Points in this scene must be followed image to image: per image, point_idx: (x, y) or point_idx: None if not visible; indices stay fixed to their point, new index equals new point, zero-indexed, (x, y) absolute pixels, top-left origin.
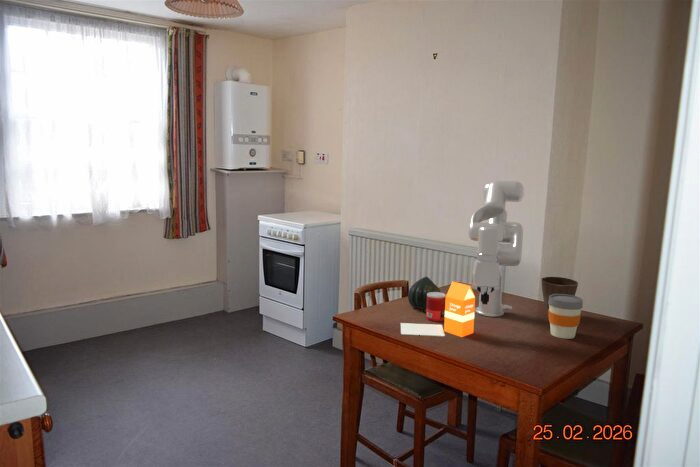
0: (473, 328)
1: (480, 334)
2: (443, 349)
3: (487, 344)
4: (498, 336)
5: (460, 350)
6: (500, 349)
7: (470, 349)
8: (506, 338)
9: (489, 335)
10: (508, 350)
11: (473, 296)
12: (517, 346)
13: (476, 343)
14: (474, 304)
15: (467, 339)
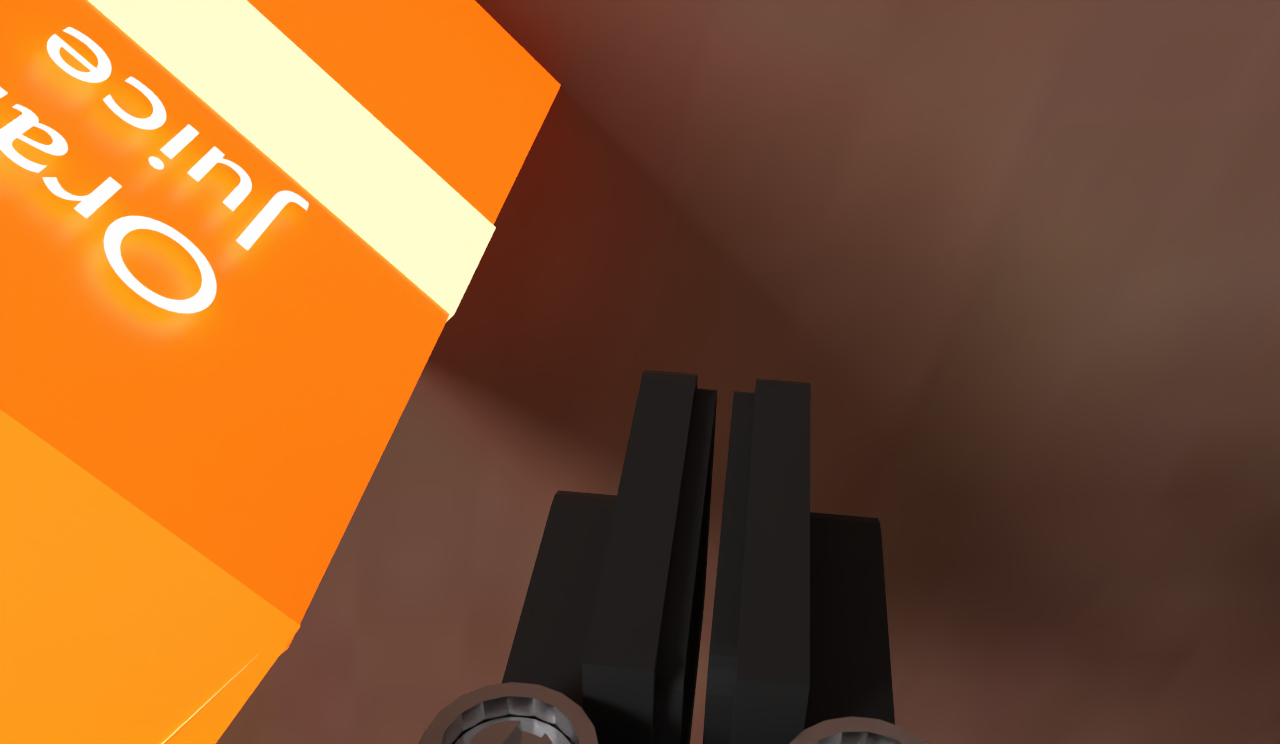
0: (541, 124)
1: (694, 163)
2: None
3: (710, 571)
4: (1032, 251)
5: (311, 725)
6: None
7: (439, 704)
8: (1149, 341)
9: (864, 207)
10: (955, 741)
11: (191, 704)
12: (1166, 635)
13: None
14: (363, 474)
15: (421, 400)
